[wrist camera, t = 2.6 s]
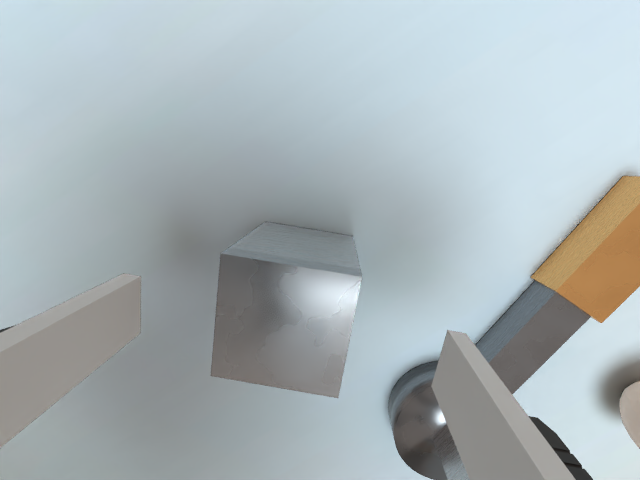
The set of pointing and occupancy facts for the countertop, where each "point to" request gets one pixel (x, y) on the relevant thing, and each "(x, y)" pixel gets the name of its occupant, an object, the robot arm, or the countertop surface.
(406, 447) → the ratchet
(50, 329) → the robot arm
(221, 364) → the grey rectangular block
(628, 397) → the egg
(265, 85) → the countertop surface
